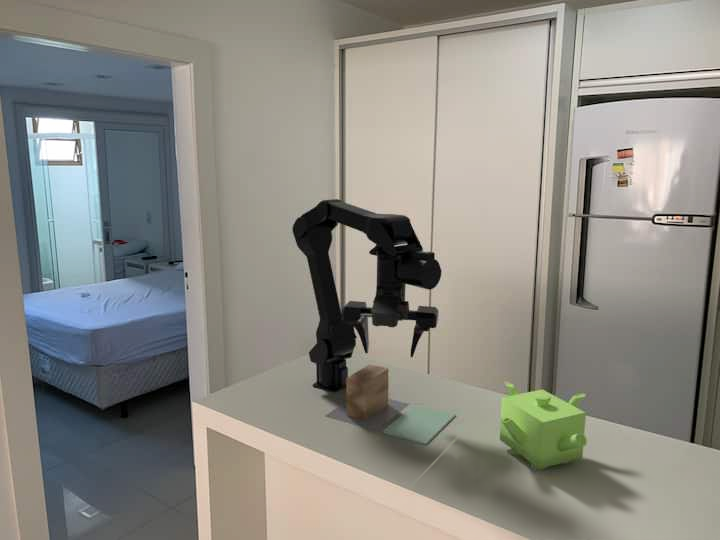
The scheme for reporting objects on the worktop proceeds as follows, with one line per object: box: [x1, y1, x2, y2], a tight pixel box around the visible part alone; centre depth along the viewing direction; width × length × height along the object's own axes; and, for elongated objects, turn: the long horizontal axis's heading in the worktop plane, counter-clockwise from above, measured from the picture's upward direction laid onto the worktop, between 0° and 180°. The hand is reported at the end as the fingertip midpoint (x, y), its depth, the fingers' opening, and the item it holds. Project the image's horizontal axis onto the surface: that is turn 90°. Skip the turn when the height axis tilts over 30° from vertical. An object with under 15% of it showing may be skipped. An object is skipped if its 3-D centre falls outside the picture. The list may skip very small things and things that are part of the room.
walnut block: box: [345, 363, 389, 421], centre depth 116 cm, size 5×9×8 cm, turn 148°
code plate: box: [324, 398, 410, 431], centre depth 117 cm, size 12×14×1 cm
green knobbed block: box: [499, 381, 588, 472], centre depth 98 cm, size 15×14×11 cm
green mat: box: [382, 404, 457, 446], centre depth 110 cm, size 9×14×1 cm, turn 148°
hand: (389, 354), depth 114 cm, fingers open, 9 cm apart
